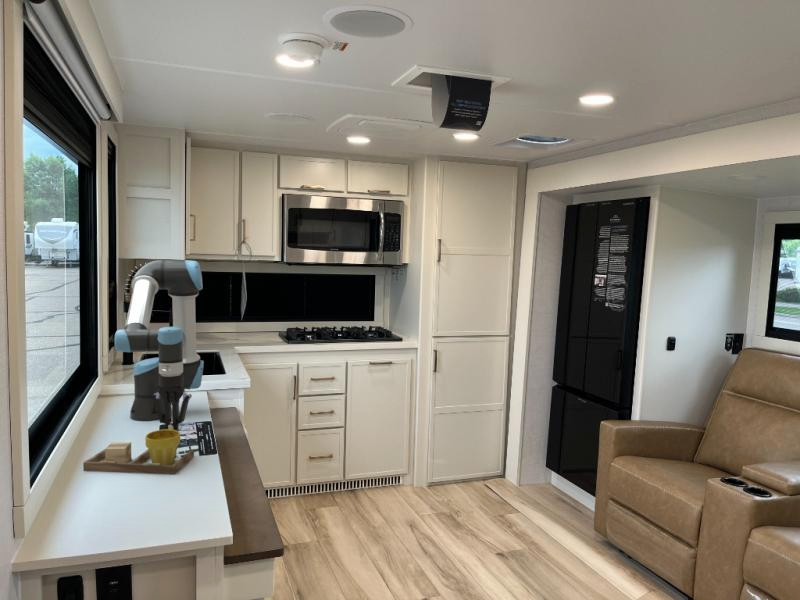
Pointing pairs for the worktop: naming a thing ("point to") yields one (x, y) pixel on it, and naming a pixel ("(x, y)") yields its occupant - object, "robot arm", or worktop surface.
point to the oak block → (118, 452)
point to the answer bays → (135, 464)
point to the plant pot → (163, 445)
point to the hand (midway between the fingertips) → (172, 443)
